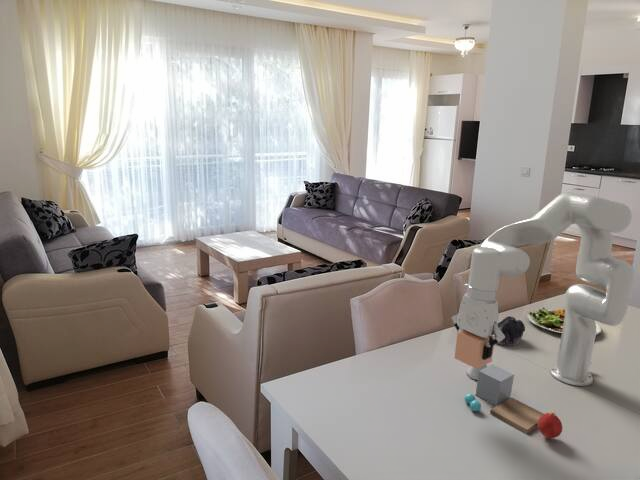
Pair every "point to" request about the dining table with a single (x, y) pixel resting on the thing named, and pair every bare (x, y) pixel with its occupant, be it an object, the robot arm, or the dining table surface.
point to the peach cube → (471, 349)
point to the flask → (474, 372)
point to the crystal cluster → (511, 331)
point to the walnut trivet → (517, 414)
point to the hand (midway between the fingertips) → (473, 352)
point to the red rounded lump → (550, 425)
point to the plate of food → (551, 319)
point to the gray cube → (494, 384)
